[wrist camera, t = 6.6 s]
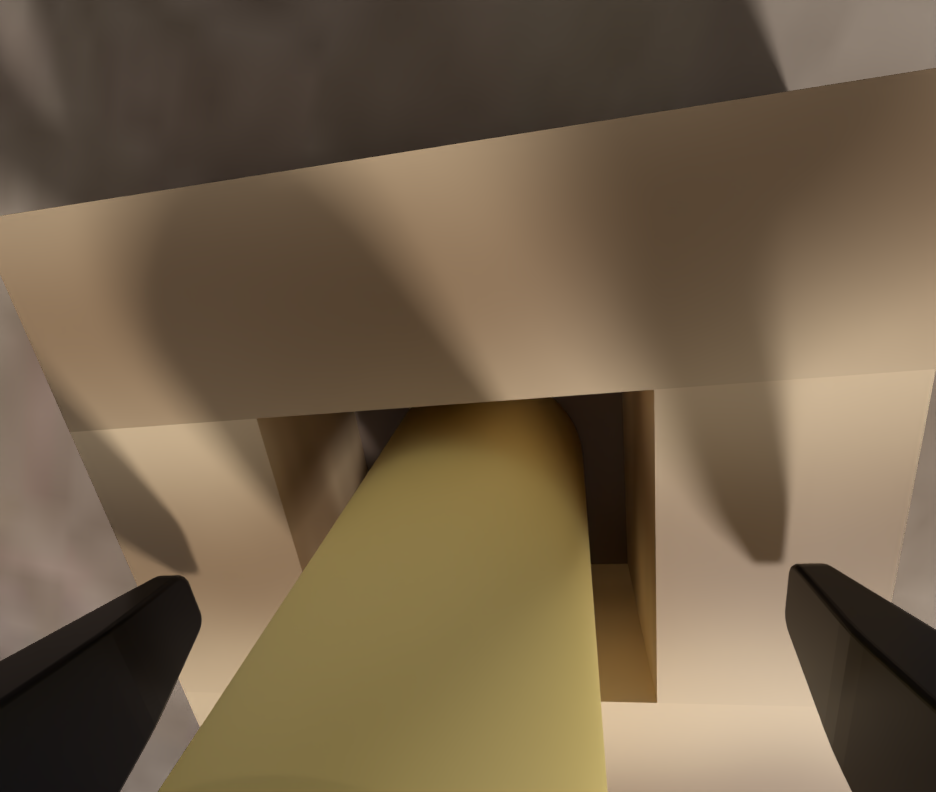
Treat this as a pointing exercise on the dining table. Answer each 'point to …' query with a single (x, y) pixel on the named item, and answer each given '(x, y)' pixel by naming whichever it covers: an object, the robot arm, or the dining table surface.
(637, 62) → the dining table surface
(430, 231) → the bore block
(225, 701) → the peg
